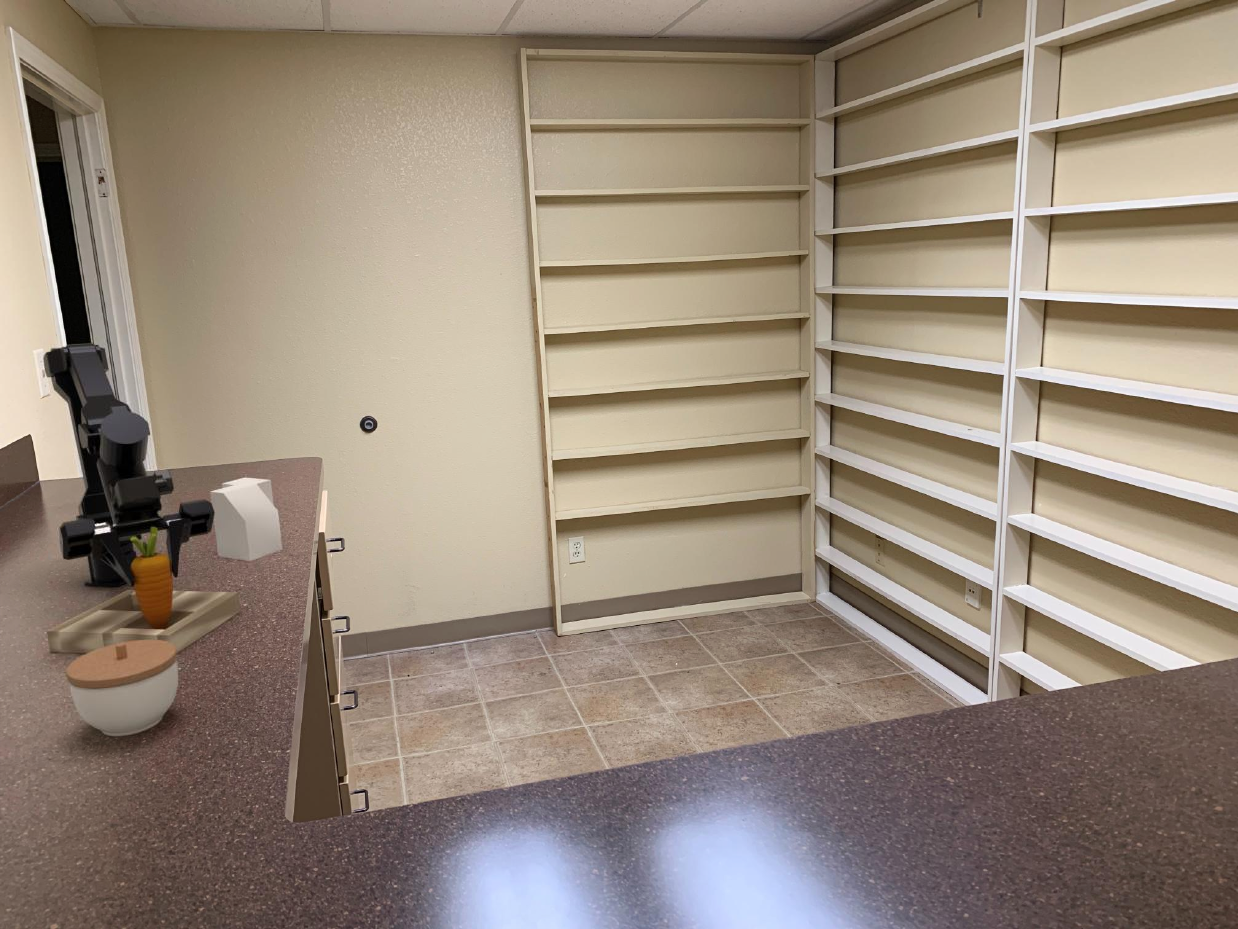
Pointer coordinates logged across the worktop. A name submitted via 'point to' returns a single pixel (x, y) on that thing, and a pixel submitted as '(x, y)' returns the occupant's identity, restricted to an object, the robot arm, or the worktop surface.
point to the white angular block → (246, 519)
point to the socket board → (143, 622)
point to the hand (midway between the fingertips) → (154, 580)
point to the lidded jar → (125, 685)
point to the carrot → (153, 582)
